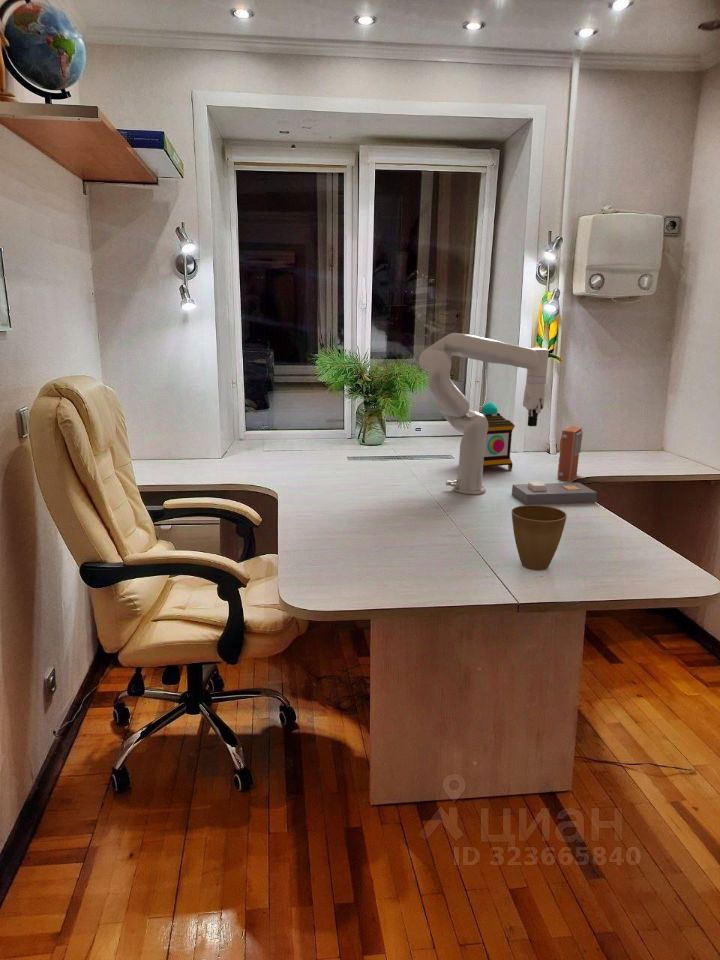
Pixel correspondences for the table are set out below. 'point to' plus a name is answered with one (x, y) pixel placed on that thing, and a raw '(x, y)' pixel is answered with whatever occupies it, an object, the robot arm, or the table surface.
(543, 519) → the plant pot
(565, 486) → the orange key
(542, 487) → the ivory key
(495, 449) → the decorative lantern
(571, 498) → the keypad housing
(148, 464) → the table surface
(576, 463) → the orange box
